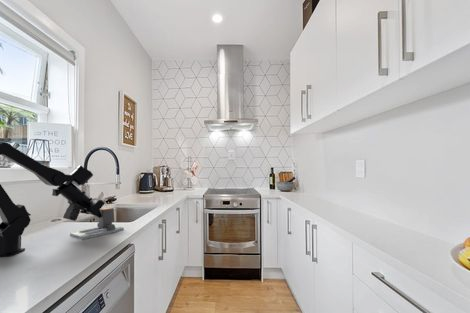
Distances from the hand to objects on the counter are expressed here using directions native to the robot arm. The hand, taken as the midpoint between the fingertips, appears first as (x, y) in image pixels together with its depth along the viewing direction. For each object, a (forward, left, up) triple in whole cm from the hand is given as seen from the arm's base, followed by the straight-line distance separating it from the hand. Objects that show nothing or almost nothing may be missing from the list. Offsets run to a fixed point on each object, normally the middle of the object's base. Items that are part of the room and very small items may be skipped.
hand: (100, 217), depth 111 cm
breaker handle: (+2, -1, -5) cm, 6 cm away
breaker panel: (-1, +1, -7) cm, 7 cm away
